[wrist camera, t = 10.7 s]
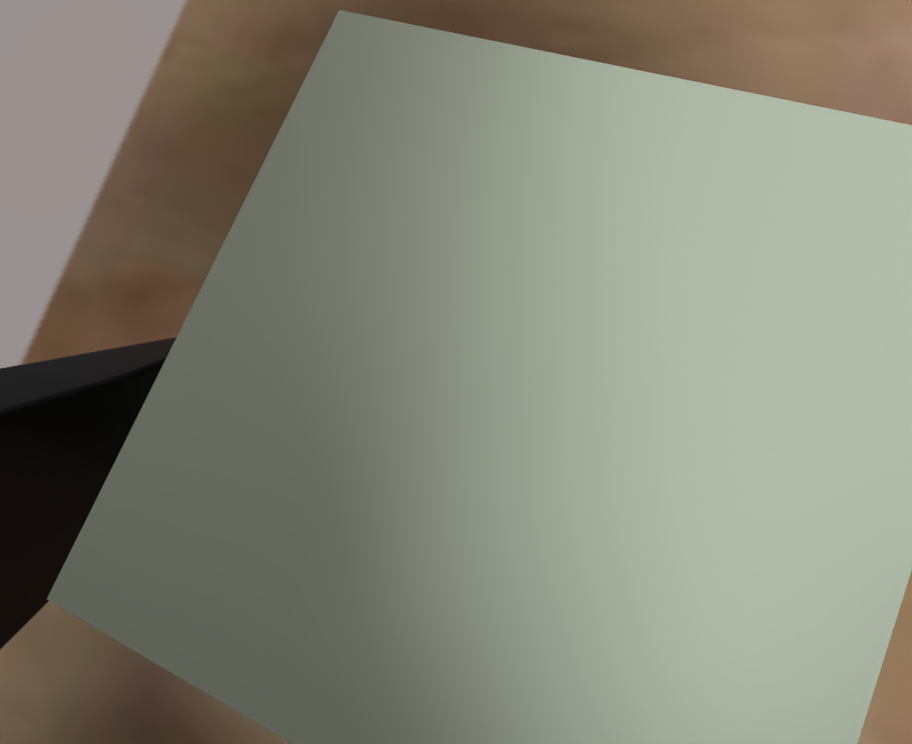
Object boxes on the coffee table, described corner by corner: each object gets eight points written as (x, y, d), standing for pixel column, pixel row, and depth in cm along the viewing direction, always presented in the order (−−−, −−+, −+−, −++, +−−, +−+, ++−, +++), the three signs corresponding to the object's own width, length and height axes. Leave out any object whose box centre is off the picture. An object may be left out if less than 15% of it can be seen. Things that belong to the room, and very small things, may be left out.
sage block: (685, 696, 16) (770, 1025, 4) (470, 595, 18) (47, 598, 5) (764, 472, 17) (1041, 152, 5) (550, 395, 18) (339, 9, 6)
